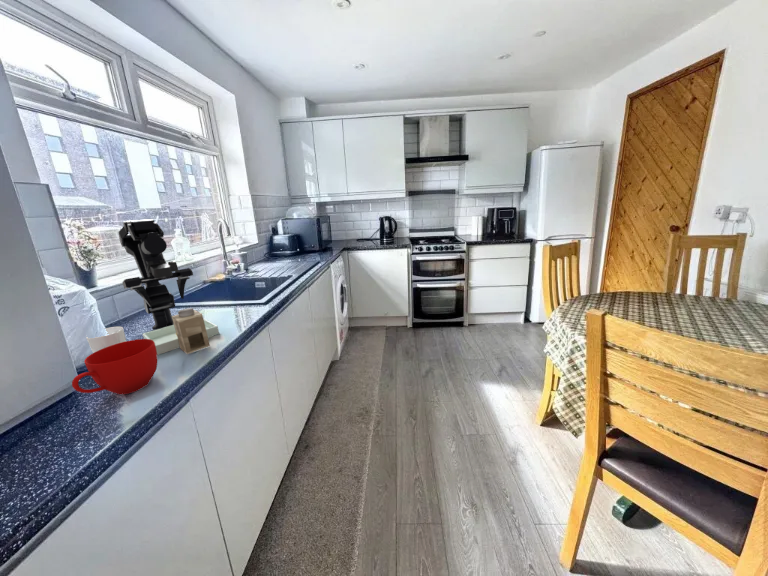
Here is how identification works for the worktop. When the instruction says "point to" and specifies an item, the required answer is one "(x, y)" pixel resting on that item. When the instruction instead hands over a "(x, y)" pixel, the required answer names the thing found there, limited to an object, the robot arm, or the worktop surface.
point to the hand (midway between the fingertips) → (167, 302)
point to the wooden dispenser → (190, 330)
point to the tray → (173, 337)
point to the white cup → (107, 339)
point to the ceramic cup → (121, 367)
